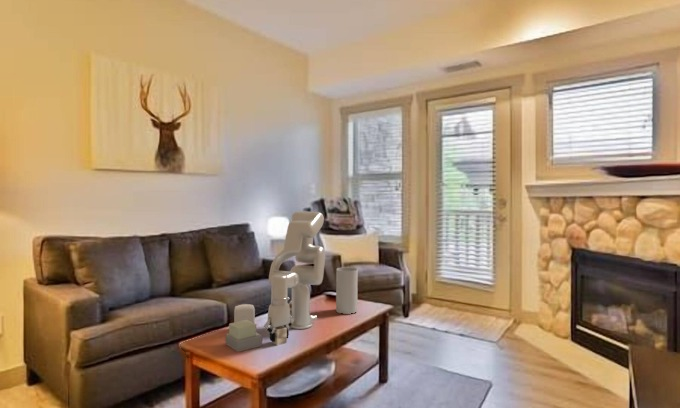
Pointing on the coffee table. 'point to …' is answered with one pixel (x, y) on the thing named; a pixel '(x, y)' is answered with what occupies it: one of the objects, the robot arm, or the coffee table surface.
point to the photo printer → (244, 313)
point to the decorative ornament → (290, 306)
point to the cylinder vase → (346, 290)
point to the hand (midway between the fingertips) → (279, 339)
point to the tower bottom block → (244, 342)
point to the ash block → (280, 335)
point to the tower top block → (242, 329)
